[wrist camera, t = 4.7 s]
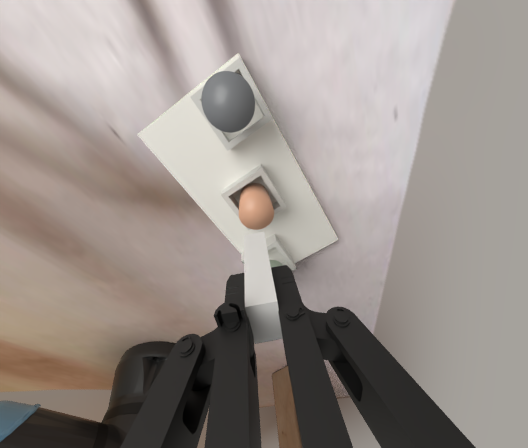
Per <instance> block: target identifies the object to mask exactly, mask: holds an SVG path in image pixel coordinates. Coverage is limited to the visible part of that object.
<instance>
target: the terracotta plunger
mask: <svg viewBox="0 0 528 448" xmlns="http://www.w3.org/2000/svg"><path fill="white" fill-rule="evenodd" d="M273 217H274V209H273V206H272V203H271V199H270V196H269V193H268V191H267V189H266V188H265V187H264V186H263V185H261V184H258V183H251V184H248V185H246V186H245V187H244V188H243V189H242V190H241V193H240V200H239V219H240V221H241V223H242V224H243V225H244V226H245V227H247V228H249V229H253V230H259V229H263V228H265V227H267V226H268V225H269V224H270V223H271V222H272V220H273Z"/></svg>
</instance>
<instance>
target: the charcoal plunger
mask: <svg viewBox="0 0 528 448" xmlns="http://www.w3.org/2000/svg"><path fill="white" fill-rule="evenodd" d="M201 102H202V108H203V111H204V114H205V116H206V118H207V119H208V121H209V122H210V123H211V124H212V125H213V126H214V127H215V128H217V129H219V130H221V131H223V132H228V133H233V132H238V131H240V130H242V129H244V128H245V127H246V126H247V125H248V124H249V123H250V121H251V119H252V117H253V115H254V111H255V98H254V94H253V91H252V89H251V87H250V85H249V83H248V82H247V81H246V80H245V79H244V78H243V77H242V76H240V75H239V74H237V73H235V72H231V71H221V72H218V73H215V74H214V75H212V76H211V77H210V78H209V79H208V80H207V82H206V83H205V85H204V88H203V91H202V96H201Z"/></svg>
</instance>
